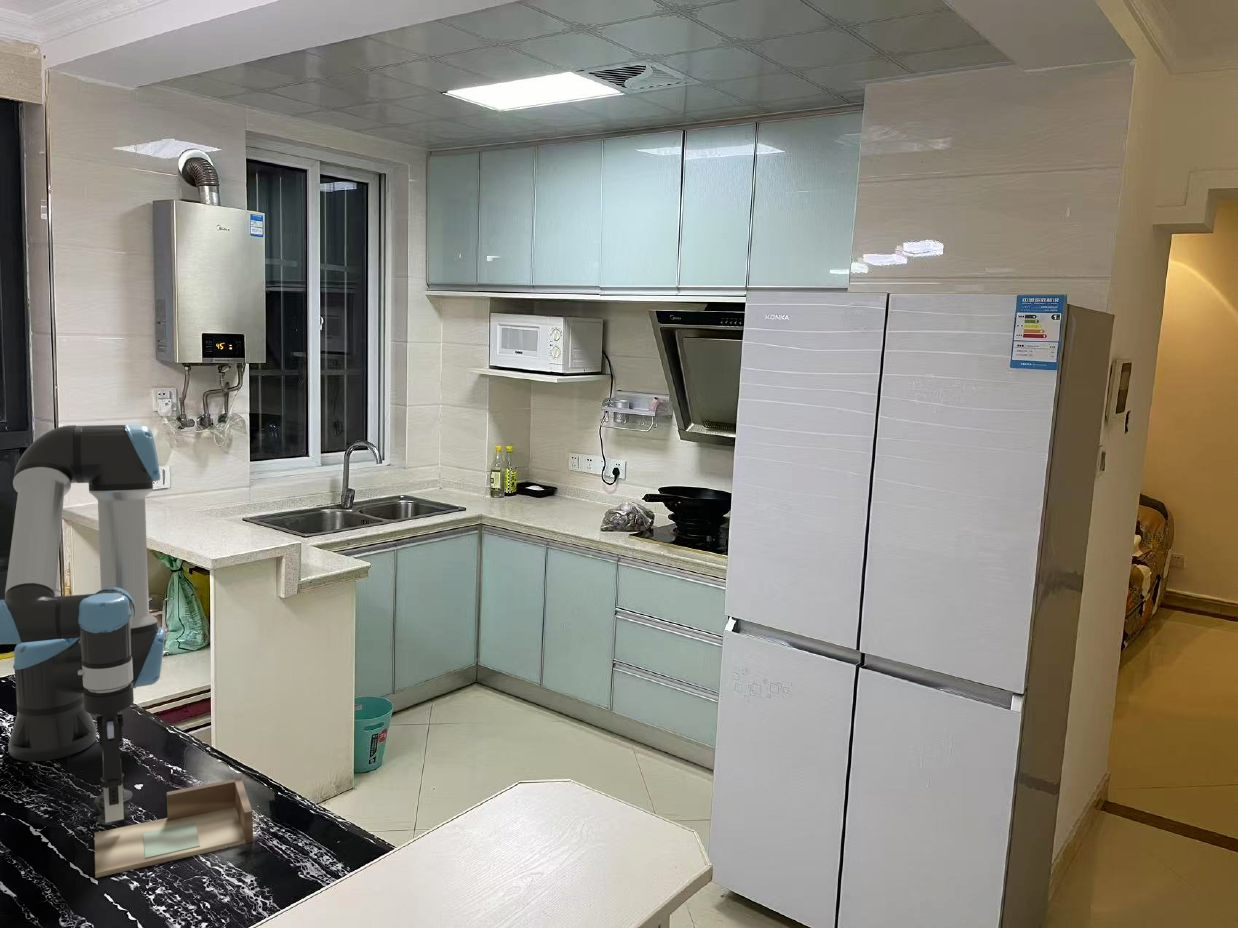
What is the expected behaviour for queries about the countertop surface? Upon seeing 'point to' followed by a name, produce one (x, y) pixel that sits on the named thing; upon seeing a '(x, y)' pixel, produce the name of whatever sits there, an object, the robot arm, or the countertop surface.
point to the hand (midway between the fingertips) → (113, 801)
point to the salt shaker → (101, 804)
